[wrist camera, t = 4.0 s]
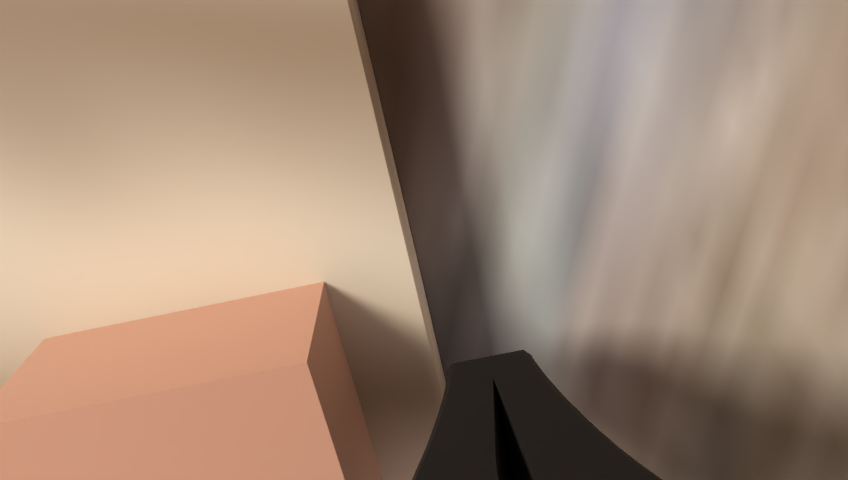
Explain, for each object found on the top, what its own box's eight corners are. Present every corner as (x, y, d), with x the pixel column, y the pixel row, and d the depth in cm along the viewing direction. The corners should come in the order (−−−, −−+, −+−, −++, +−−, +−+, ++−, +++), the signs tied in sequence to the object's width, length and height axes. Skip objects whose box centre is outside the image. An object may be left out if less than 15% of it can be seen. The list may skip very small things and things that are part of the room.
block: (389, 502, 14) (387, 613, 12) (146, 547, 14) (98, 665, 12) (324, 281, 12) (306, 361, 10) (44, 338, 12) (-38, 430, 10)
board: (496, 597, 18) (507, 673, 16) (45, 678, 18) (5, 760, 17) (338, -82, 12) (326, -87, 10) (-337, 72, 12) (-467, 95, 10)
